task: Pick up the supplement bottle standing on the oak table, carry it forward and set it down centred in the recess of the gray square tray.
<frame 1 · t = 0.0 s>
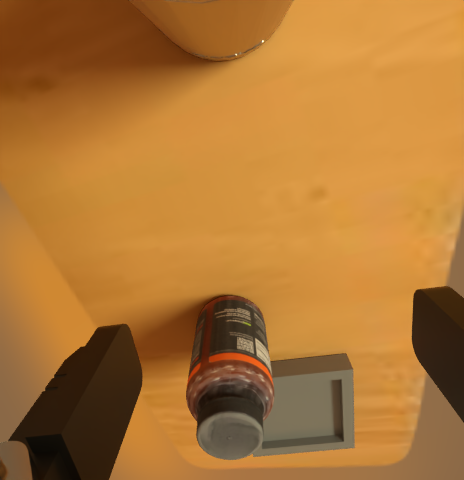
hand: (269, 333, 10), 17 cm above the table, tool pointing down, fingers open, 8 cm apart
supplement bottle: (231, 319, 30), on the table
gray square tray: (296, 398, 33), on the table
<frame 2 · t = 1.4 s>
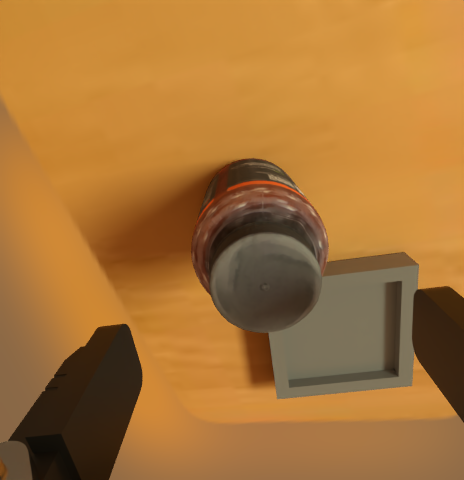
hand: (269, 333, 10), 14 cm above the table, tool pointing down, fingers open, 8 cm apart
supplement bottle: (251, 201, 22), on the table
gray square tray: (334, 321, 25), on the table
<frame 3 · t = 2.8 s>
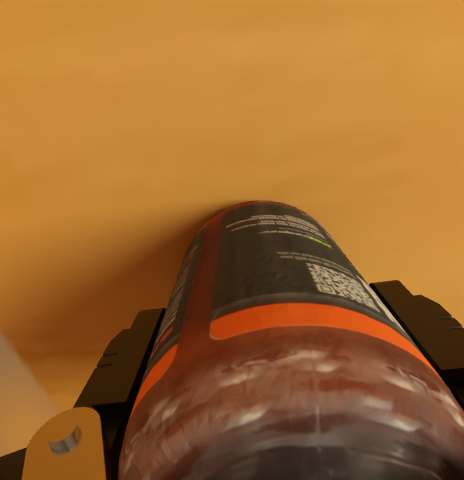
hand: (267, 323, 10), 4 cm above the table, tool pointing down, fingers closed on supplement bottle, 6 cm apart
supplement bottle: (259, 267, 14), on the table, touching gripper
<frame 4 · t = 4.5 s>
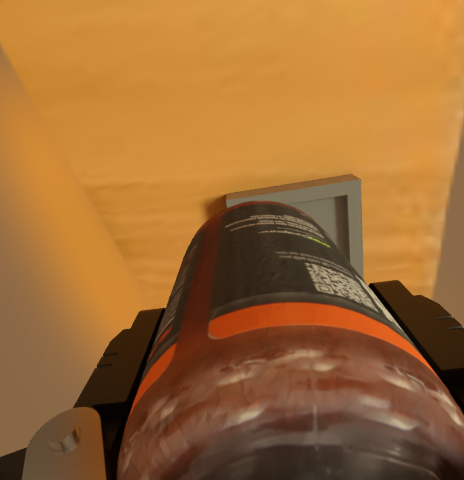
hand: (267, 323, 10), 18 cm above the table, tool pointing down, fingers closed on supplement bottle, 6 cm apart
supplement bottle: (259, 266, 14), point 14 cm above the table, touching gripper
gray square tray: (294, 241, 29), on the table
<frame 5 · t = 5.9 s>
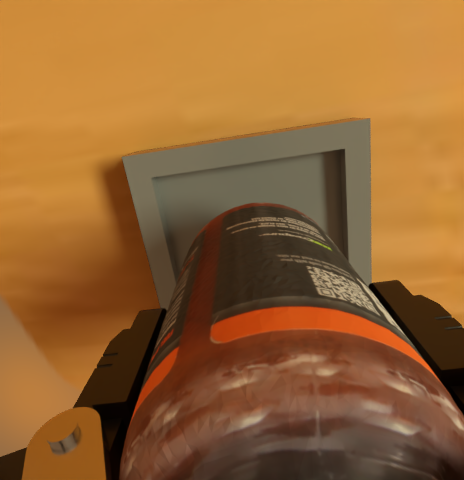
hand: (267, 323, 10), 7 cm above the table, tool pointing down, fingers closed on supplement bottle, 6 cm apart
supplement bottle: (260, 268, 14), point 4 cm above the table, touching gripper
gray square tray: (255, 237, 17), on the table
when the fingers open (5 cm above the table, at t = 6.6 s): supplement bottle stays where it is, resting on gray square tray.
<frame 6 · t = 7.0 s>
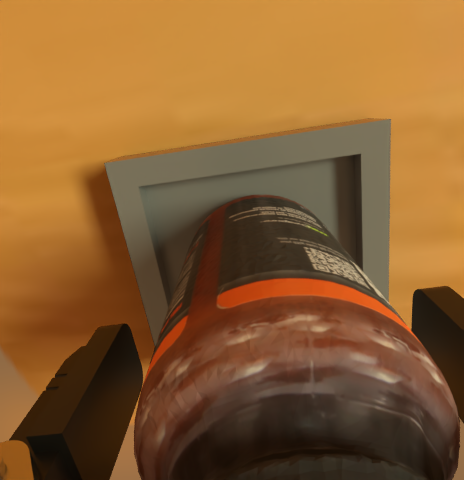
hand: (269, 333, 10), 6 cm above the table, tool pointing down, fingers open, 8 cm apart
supplement bottle: (260, 258, 14), point 1 cm above the table, touching gray square tray
gray square tray: (257, 251, 15), on the table
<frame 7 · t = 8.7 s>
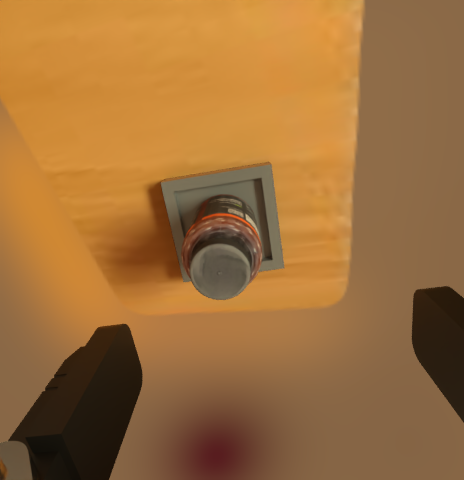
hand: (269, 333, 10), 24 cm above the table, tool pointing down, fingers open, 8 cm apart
supplement bottle: (225, 222, 32), point 1 cm above the table, touching gray square tray
gray square tray: (225, 221, 33), on the table
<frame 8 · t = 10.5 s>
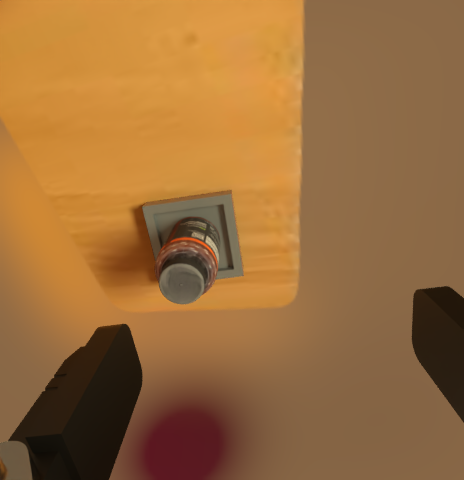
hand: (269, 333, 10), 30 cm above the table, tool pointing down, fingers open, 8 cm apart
supplement bottle: (196, 238, 40), point 1 cm above the table, touching gray square tray
gray square tray: (196, 236, 41), on the table
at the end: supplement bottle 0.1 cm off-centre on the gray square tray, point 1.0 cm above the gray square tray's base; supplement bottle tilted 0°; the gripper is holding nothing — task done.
